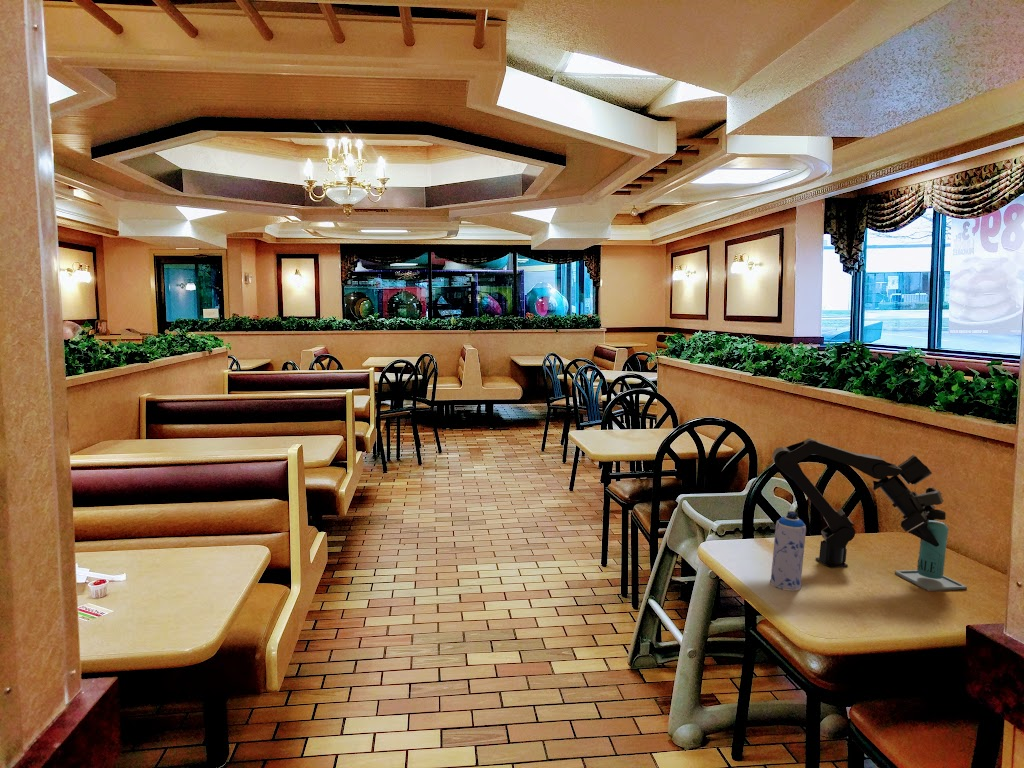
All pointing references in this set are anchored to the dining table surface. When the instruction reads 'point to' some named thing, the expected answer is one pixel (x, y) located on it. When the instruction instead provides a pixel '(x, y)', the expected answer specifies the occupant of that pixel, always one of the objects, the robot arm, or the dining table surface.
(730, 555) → the dining table surface
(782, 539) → the aerosol can
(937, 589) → the tray
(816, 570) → the dining table surface
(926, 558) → the beverage bottle
